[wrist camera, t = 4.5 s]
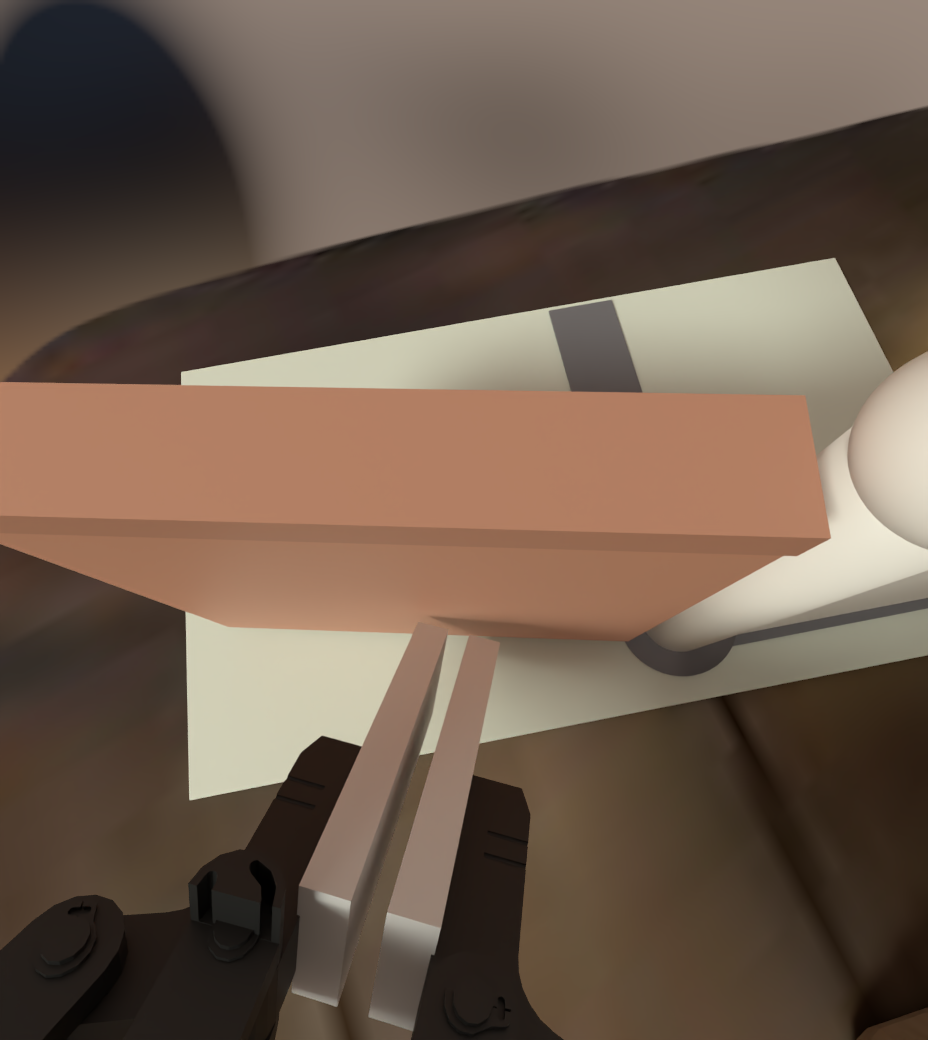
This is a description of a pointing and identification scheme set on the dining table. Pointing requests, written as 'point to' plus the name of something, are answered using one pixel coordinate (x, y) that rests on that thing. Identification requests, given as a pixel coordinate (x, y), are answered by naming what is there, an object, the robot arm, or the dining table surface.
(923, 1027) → the wooden block
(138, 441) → the terracotta rectangular slab
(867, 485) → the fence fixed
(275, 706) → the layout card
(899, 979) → the dining table surface
